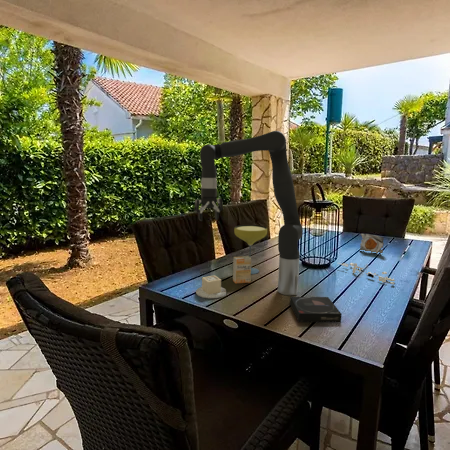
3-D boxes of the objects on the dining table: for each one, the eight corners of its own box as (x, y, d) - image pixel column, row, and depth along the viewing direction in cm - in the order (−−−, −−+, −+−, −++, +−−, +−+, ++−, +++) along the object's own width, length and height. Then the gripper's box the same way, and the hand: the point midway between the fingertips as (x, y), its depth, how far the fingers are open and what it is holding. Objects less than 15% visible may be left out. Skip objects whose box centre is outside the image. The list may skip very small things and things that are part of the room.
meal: (358, 252, 234) (359, 234, 231) (360, 251, 237) (361, 233, 235) (381, 256, 225) (383, 237, 223) (383, 255, 228) (385, 236, 226)
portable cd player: (327, 305, 148) (327, 296, 148) (340, 323, 132) (341, 313, 131) (289, 304, 148) (290, 296, 147) (298, 323, 131) (299, 313, 131)
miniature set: (333, 267, 198) (345, 267, 205) (391, 289, 170) (403, 288, 178) (336, 256, 197) (348, 256, 204) (394, 277, 169) (406, 276, 177)
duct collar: (214, 287, 163) (214, 275, 162) (220, 291, 157) (221, 279, 156) (202, 289, 160) (202, 277, 159) (208, 294, 154) (208, 281, 153)
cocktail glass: (227, 273, 187) (228, 228, 182) (241, 264, 203) (242, 223, 198) (258, 278, 179) (259, 232, 174) (270, 269, 194) (272, 226, 190)
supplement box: (235, 284, 170) (235, 259, 168) (232, 280, 175) (233, 256, 173) (250, 282, 173) (251, 258, 170) (247, 279, 177) (248, 255, 175)
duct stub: (217, 285, 168) (217, 272, 167) (231, 295, 156) (231, 281, 155) (191, 290, 162) (191, 276, 160) (203, 300, 149) (203, 285, 148)
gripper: (218, 186, 170) (218, 218, 173) (192, 186, 164) (192, 219, 167) (225, 187, 164) (225, 220, 167) (198, 188, 157) (198, 222, 160)
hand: (208, 220), depth 167 cm, fingers open, 8 cm apart
